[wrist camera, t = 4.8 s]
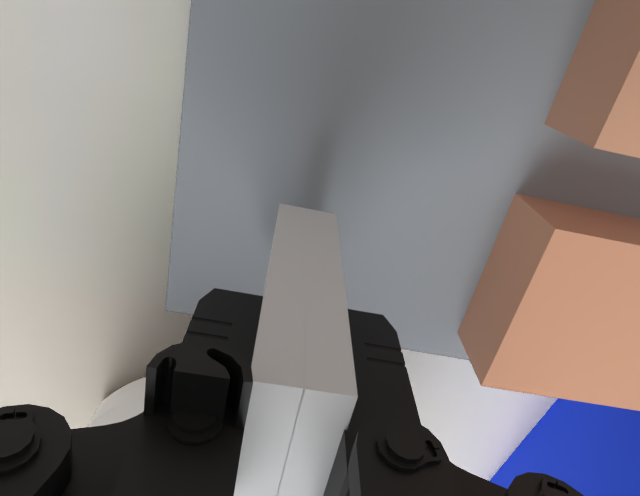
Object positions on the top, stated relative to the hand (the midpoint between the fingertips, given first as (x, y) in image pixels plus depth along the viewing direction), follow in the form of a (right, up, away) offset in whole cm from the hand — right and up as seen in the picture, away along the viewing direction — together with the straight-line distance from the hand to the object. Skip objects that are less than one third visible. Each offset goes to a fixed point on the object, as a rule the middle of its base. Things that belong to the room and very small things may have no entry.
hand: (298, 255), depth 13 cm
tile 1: (+8, -1, +2) cm, 8 cm away
